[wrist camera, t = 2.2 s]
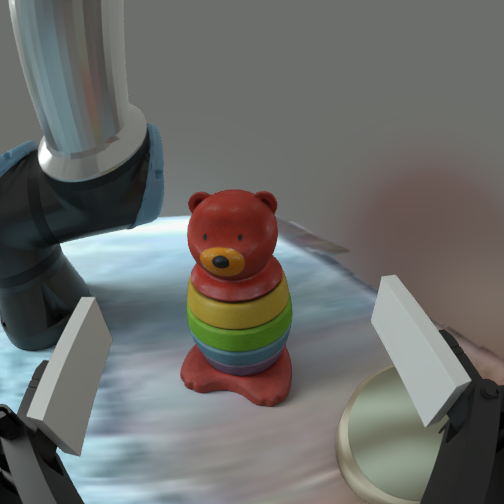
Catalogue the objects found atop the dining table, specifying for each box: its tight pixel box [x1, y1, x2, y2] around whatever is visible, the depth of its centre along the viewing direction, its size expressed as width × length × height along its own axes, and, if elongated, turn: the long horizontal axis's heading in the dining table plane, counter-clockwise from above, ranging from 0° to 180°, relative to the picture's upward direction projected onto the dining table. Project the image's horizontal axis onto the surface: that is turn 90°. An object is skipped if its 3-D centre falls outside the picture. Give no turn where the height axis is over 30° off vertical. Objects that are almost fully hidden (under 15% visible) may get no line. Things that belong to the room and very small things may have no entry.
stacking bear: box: [180, 190, 292, 407], centre depth 25 cm, size 11×10×18 cm
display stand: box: [335, 365, 449, 504], centre depth 19 cm, size 15×15×3 cm
